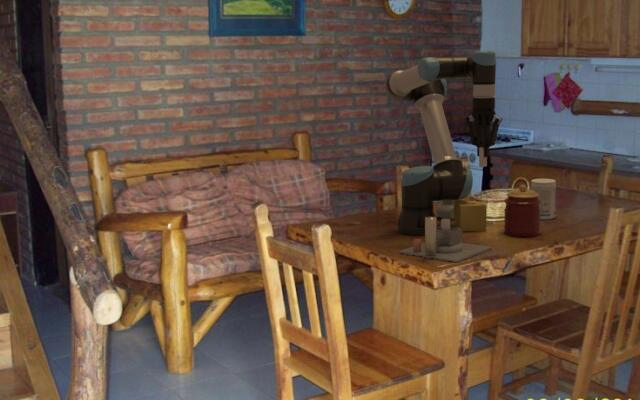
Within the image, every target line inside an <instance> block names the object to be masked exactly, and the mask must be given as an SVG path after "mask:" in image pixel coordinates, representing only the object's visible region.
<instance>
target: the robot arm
mask: <svg viewBox="0 0 640 400" xmlns="http://www.w3.org/2000/svg"><path fill="white" fill-rule="evenodd" d="M496 67H497V60H496V52H495V51H494V50H473V52H472V55H462V56H460V55H459V56H441V57H440V56H439V57H438V56H437V57H436V56H435V57H434V56H430V57H429V56H427V57H423V58H420V59H419V61H418V64H417V65H414V66H411V67H409V68H407V69H405V70H400V69H399V70H396V71H393V72H392V73H391V74H389V75H388V76H387V79H386V80H385V89H386V93H387V94H388V95H389V97H391V98H392V99H395V100H397V101H400V102H413V105H414V108H416V109H417V110H419V112H420V114H421V120H422V122H423V127H424V130H425V134H426V138H427V143H428V146H429V149H430V153H431V157H432V161H433V165H432V166H430V165H422V166H421V165H420V166H413V167H411V168H410V167H409V168H407V169H405V170H404V171H403V172H402V174H401V180H400V181H401V182H400V186H401V195H400V196H401V211H400V214H399V218H398V220H397V224H396V232H397V233H399V232H400V233H401V234H404V235H411V236H425V217H428V216H433V217H436V215H435V214H436V213H435V211H434V202H442V201H447V200H464V199H466V198H468V197H469V195H471V192H472V189H473V183H474V182H473V181H474V178H473V173H472V170H471V169H470V167H468V166H465V167H464V165H463V161H462V160H461V159H459V157H458V158H457V154H456V151H455V148H454V144H453V139H452V136H451V133H450V130H449V129H450V128H449V126H448V121H447V118H446V115H445V111H444V108H443V105H442V104H443V103H444V101H445V98H446V96H447V94H448V84H447V81H446V80H454V79H459V80H461V79H472V93H471V94H472V96H473V98H472V101H471V102H472V104H471V105H472V112H471V114H470V115H469V116H466V117H465V121H466V123H467V125H468V127H467V128H468V129H469V136H470V141H471V145H472V146H475V147H476V156H477V157H478V167H479V168H484V167H487V166H488V161H487V160H488V158H489V156H490V148H491V147H492V146H495V144H496V140H497V136H498V131H499V127H500V124H501V123H502V121H503V118H502V117H499V116H497V114H496V112H495V108H496V98H495V96H496V74H497V73H496V71H497V70H496ZM492 122H493V123H492ZM438 226H439V224H438V220H437V219H436V227H438Z"/></svg>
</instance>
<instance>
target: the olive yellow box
mask: <svg viewBox="0 0 640 400" xmlns="http://www.w3.org/2000/svg"><path fill="white" fill-rule="evenodd" d="M454 218H455V220H454V222H455V223H454V224H455V226H454V227H459V228H462V233H463V232H486V231H487V205H486V203H485V202H483V201H475V200H466V199H465V200H464V199H458V200H456V201H454Z"/></svg>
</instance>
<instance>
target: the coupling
mask: <svg viewBox="0 0 640 400" xmlns="http://www.w3.org/2000/svg"><path fill="white" fill-rule="evenodd" d="M436 220H437V217H436V216H435V217H433V216H428V217H425V235H424V242H425V254H426V255H436V247H438V246H441V245H448V246H452V245H454V244H456V243H459V242H462V241H463V232H462V228H459V227H456V226H451V225H450V230H448V231H447V230H441V224H440V225H438V227H436Z"/></svg>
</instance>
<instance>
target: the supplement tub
mask: <svg viewBox="0 0 640 400" xmlns="http://www.w3.org/2000/svg"><path fill="white" fill-rule="evenodd" d="M530 190H534V191H535V192H536V193H538V194H539V196H538V199H540V200H541V203H540V209H541V217H540V220H552V219H555V217H556V207H557V202H556V201H557V199H556V198H557V180H556V179H552V178H534V179H531V181H530Z"/></svg>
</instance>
